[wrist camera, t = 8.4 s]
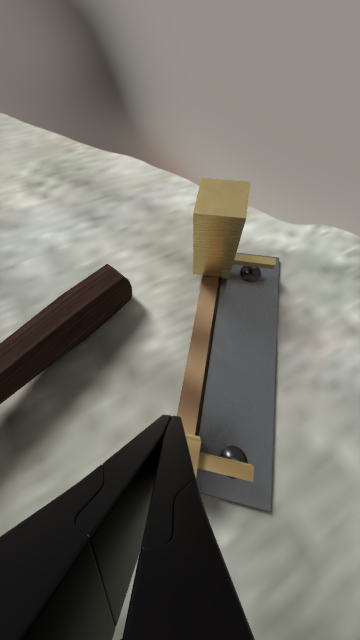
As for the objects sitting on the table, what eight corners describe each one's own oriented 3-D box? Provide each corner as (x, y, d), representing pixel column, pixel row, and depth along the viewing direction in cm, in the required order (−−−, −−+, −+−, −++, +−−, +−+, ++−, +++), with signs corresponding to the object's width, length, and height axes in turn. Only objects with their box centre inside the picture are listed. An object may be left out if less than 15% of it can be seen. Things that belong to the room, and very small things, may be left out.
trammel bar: (241, 501, 19) (253, 527, 15) (160, 479, 20) (152, 499, 16) (259, 257, 28) (270, 234, 24) (204, 251, 29) (206, 228, 25)
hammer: (120, 294, 32) (-108, 478, 21) (96, 233, 22) (-369, 525, 11) (143, 313, 30) (-90, 520, 19) (127, 257, 20) (-370, 619, 9)
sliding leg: (269, 286, 25) (310, 224, 16) (193, 276, 27) (193, 213, 18) (270, 257, 27) (308, 186, 18) (199, 249, 28) (201, 178, 19)
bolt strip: (268, 508, 18) (271, 512, 18) (190, 488, 19) (190, 490, 19) (277, 260, 28) (279, 256, 27) (225, 253, 29) (225, 250, 28)
